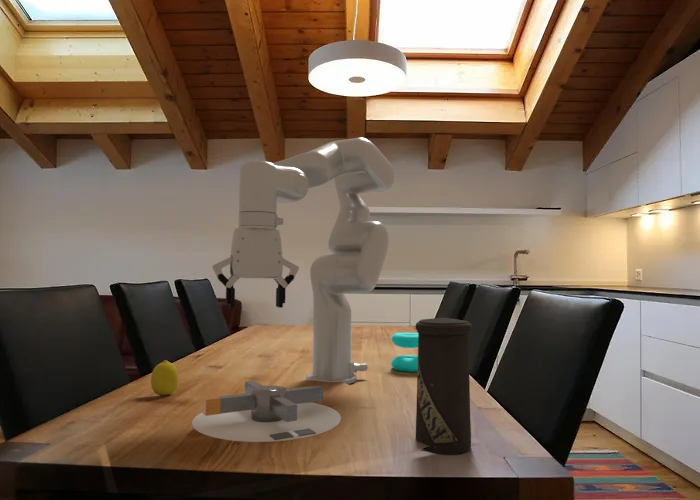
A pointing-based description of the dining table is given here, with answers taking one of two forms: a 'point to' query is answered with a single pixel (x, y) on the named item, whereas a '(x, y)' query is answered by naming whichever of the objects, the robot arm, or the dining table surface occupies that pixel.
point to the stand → (268, 425)
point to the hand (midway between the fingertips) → (255, 307)
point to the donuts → (405, 361)
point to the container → (443, 385)
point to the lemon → (164, 378)
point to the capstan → (264, 402)
